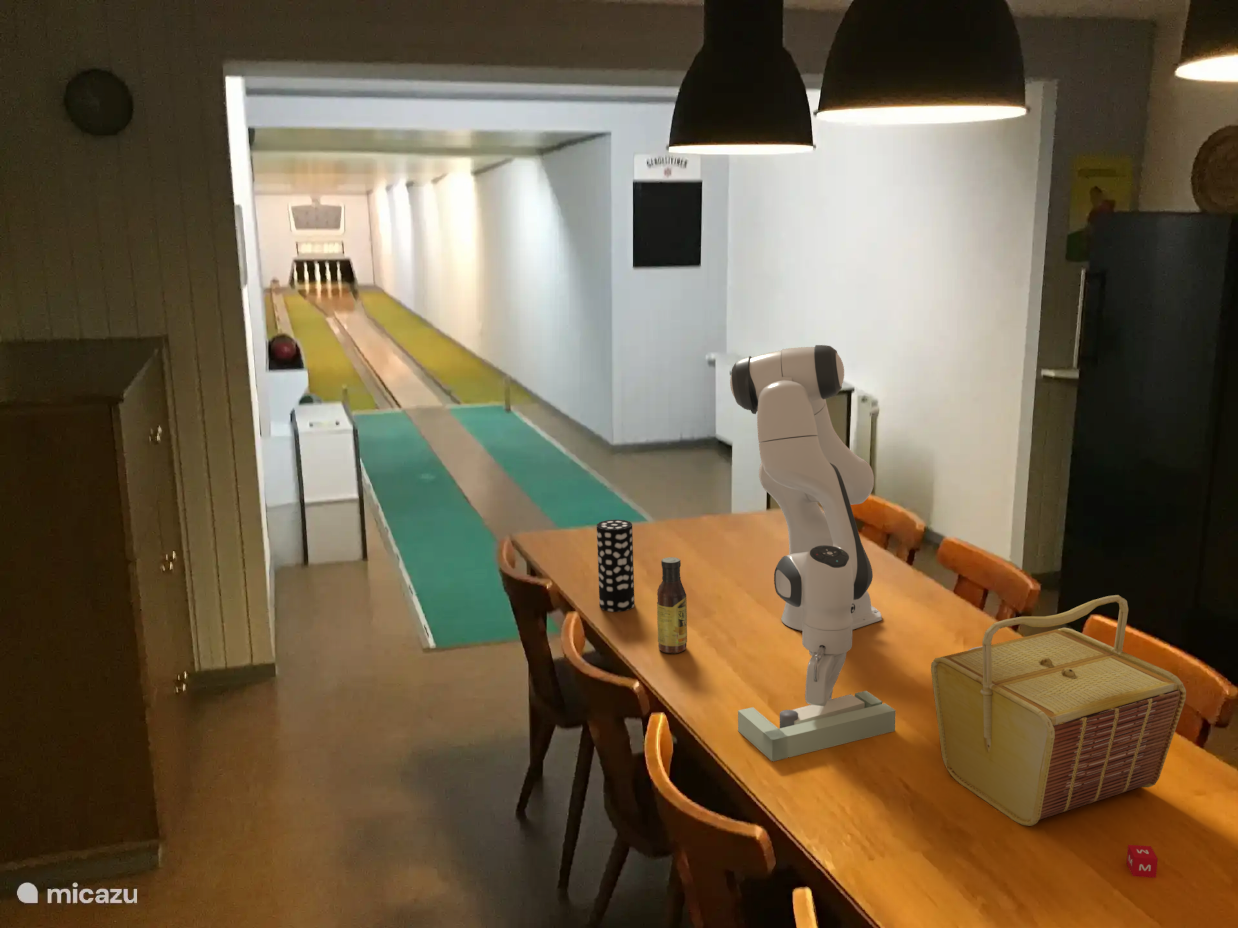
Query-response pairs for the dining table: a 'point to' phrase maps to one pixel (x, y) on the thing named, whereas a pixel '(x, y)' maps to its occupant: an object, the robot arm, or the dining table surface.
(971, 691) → the picnic basket
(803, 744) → the frame
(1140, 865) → the dice
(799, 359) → the robot arm
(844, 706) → the bar
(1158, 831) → the dining table surface
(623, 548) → the white-spotted black cylinder
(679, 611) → the sauce bottle
